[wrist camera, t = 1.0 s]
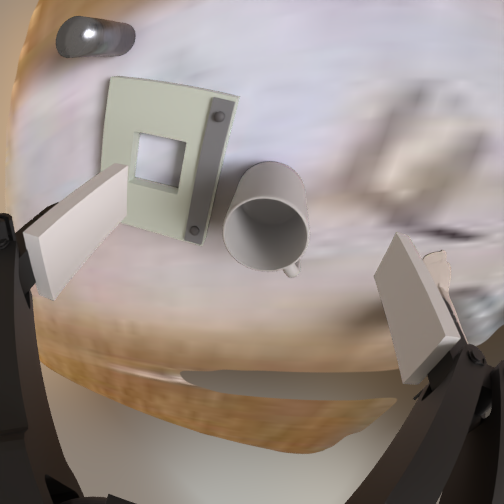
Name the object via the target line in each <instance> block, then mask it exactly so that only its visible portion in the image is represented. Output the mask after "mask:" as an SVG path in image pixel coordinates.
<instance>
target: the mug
mask: <svg viewBox="0 0 504 504" xmlns="http://www.w3.org/2000/svg"><path fill="white" fill-rule="evenodd" d="M222 235H223V241H224V244H225V246H226V248H227V250H228V252H229V253H230V255H231V256H232V257H233V258H234V259H235V260H236V261H238V262H239V263H240V264H242V265H244V266H245V267H247V268H250V269H253V270H257V271H263V272H273V271H279V270H282V269H283V271H284V273H285V274H286V275H287V276H288V277H289V278H295V277H297V276H298V275H299V274H300V270H301V260H300V258H301V257H302V256H303V254H304V253H305V251H306V249H307V247H308V244H309V239H310V227H309V218H308V210H307V201H306V190H305V186H304V183H303V181H302V179H301V177H300V176H299V175H298V173H297V172H296V171H295V170H293V169H292V168H291V167H289V166H287V165H285V164H282V163H279V162H263V163H259V164H257V165H255V166H253V167H251V168H250V169H249V170H247V171H246V172H245V174H244V175H243V176H242V178H241V180H240V182H239V184H238V187H237V190H236V192H235V195H234V197H233V199H232V202H231V204H230V207H229V209H228V212H227V214H226V216H225V219H224V223H223V228H222Z"/></svg>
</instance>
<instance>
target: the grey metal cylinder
mask: <svg viewBox="0 0 504 504" xmlns="http://www.w3.org/2000/svg"><path fill="white" fill-rule="evenodd" d="M135 37H136V35H135V30H134V29H133V27H132V26H131V25H129V24H126V23H121V22H116V21H110V20H104V19H98V18H90V17H83V16H74V17H72V18H70V19H68V20H67V21H66V22H64V24H63V25H62V26H61V27H60V29H59V31H58V34H57V37H56V48H57V51H58V53H59V54H60V55H61V56H63V57H65V58H73V57H90V56H120V55H123V54H125V53H127V52H128V51H129V50H130V49H131V48H132V46H133V44H134V42H135Z"/></svg>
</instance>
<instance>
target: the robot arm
mask: <svg viewBox="0 0 504 504" xmlns="http://www.w3.org/2000/svg"><path fill="white" fill-rule="evenodd" d="M127 180H128V165H123V164H118V163H114V164H112V165H111V166H109V167H108V168H106V169H105V170H103V171H102V172H100V173H99V174H97V175H96V176H95V177H93V178H92V179H90V180H89V181H87V182H86V183H85V184H83V185H82V186H80V187H79V188H78V189H76V190H75V191H74V192H72V193H71V194H70V195H68V196H67V197H66V198H64V199H63V200H62V201H60V202H57V203H55V204H53V205H50V206H48V207H46V208H45V209H44V210H43V211H41V212H40V213H39V214H38V215H36V216H35V217H34V218H33V220H32V219H31V220H30V221H29V222H28V223H27V224H25V225H24V226H23V227H22V228H21V229H20V230H18V231H17V232H16V233H15V231H14V226H13V221H12V216H10V215H9V214H6V213H0V504H135V503H132V502H129V501H127V500H124V499H121V498H118V497H115V496H113V495H110V494H108V497H107V498H105V497H84V495H83V493H82V491H81V488H80V486H79V484H78V482H77V480H76V478H75V476H74V474H73V473H72V471H71V469H70V468H69V466H68V464H67V462H66V460H65V458H64V455H63V452H62V449H61V446H60V443H59V440H58V437H57V434H56V430H55V426H54V423H53V419H52V416H51V412H50V408H49V404H48V400H47V396H46V392H45V387H44V382H43V377H42V372H41V366H40V360H39V354H38V347H37V340H36V332H35V323H34V313H33V300H32V294H31V291H30V289H31V287H32V286H33V285H34V284H35V283H36V286H37V290H38V293H39V295H41V296H43V297H46V298H48V299H50V300H53V301H54V300H55V299H56V298H57V296H58V295H59V294H60V292H61V291H62V290H63V289H64V287H65V286H66V285H67V283H68V282H69V281H70V280H71V279H72V277H73V276H74V275H75V274H76V272H77V271H78V270H79V269H80V268H81V266H82V265H83V264H84V263H85V262H86V260H87V259H88V258H89V257H90V256H91V255H92V253H93V252H94V251H95V250H96V249H97V248H98V247H99V245H100V244H101V243H102V242H103V241H104V240H105V239H106V238H107V236H108V235H109V234H110V233H111V232H112V231H113V230H114V229H115V228H116V227H117V225H118V224H119V223H120V222H121V221H122V220H123V219H124V218H125V217H126V216H127ZM374 279H375V282H376V285H377V288H378V291H379V294H380V298H381V301H382V304H383V308H384V311H385V315H386V318H387V322H388V325H389V329H390V333H391V336H392V340H393V344H394V348H395V352H396V356H397V360H398V364H399V369H400V373H401V377H402V381H403V383H404V384H419V383H420V382H421V381H422V380H423V379H424V378H425V377H426V376H427V375H428V379H429V384H428V385H426V386H425V387H424V389H422V390H421V391H420V392H419V393H418V394H417V395H416V396H415V397H414V398H413V399H414V400H416V399H417V398H418V397H419V398H418V400H417V402H416V403H415V405H414V407H413V409H412V411H411V412H410V414H409V416H408V417H407V419H406V421H405V422H404V424H403V425H402V427H401V429H400V430H399V432H398V433H397V435H396V436H395V438H394V439H393V441H392V442H391V444H390V445H389V447H388V448H387V450H386V451H385V453H384V454H383V456H382V457H381V458H380V460H379V461H378V463H377V464H376V465H375V467H374V468H373V469H372V471H371V472H370V473H369V475H368V476H367V477H366V478H365V480H364V481H363V482H362V484H361V485H360V486H359V487H358V489H357V490H356V491H355V492H354V493H353V495H352V496H351V497H350V498H349V499H348V500H347V502H346V503H345V504H436V502H437V500H438V498H439V497H440V495H441V493H442V495H441V498H440V502H439V504H504V360H503V361H501V362H500V363H499V364H498V365H497V366H496V367H495V368H494V367H492V366H489V365H487V364H486V359H485V357H484V355H483V354H482V352H481V351H480V350H479V349H478V348H477V347H476V346H474V345H471V344H467V342H466V339H465V337H464V335H463V332H462V330H461V328H460V326H459V324H458V322H457V319H456V317H455V315H453V311H452V309H451V307H450V305H449V303H448V302H447V301H446V300H445V298H444V297H443V296H442V295H441V294H440V292H439V290H438V288H437V286H436V284H435V282H434V280H433V278H432V276H431V274H430V273H429V271H428V269H427V267H426V265H425V263H424V262H423V260H422V258H421V256H420V254H419V253H418V251H417V249H416V247H415V246H414V244H413V242H412V240H411V239H410V237H409V236H407V235H404V234H401V233H398V232H396V233H395V236H394V238H393V240H392V242H391V244H390V246H389V248H388V250H387V252H386V254H385V256H384V258H383V259H382V261H381V263H380V265H379V267H378V269H377V271H376V273H375V275H374ZM491 408H492V409H491ZM489 409H491V413H490V415H489V416H488V417H487V418H485V413H486V412H487V411H488V410H489Z"/></svg>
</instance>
